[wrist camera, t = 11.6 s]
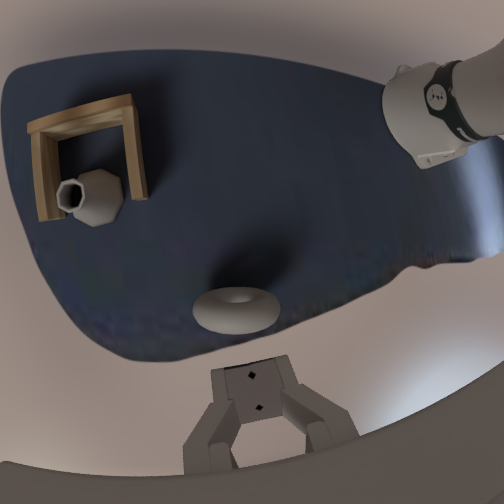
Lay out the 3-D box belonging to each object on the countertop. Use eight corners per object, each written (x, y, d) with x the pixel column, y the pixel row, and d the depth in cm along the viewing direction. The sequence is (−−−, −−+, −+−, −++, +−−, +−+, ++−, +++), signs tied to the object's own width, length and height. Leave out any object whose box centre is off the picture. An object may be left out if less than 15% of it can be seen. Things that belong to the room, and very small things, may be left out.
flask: (75, 166, 32) (44, 155, 23) (128, 171, 34) (111, 159, 25) (68, 223, 33) (35, 230, 24) (120, 230, 35) (100, 238, 25)
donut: (266, 280, 40) (293, 303, 31) (266, 305, 41) (292, 334, 31) (189, 285, 38) (194, 312, 28) (191, 311, 39) (196, 344, 29)
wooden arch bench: (138, 112, 33) (130, 93, 26) (148, 198, 35) (141, 196, 29) (49, 135, 31) (27, 122, 24) (58, 219, 33) (35, 222, 26)
